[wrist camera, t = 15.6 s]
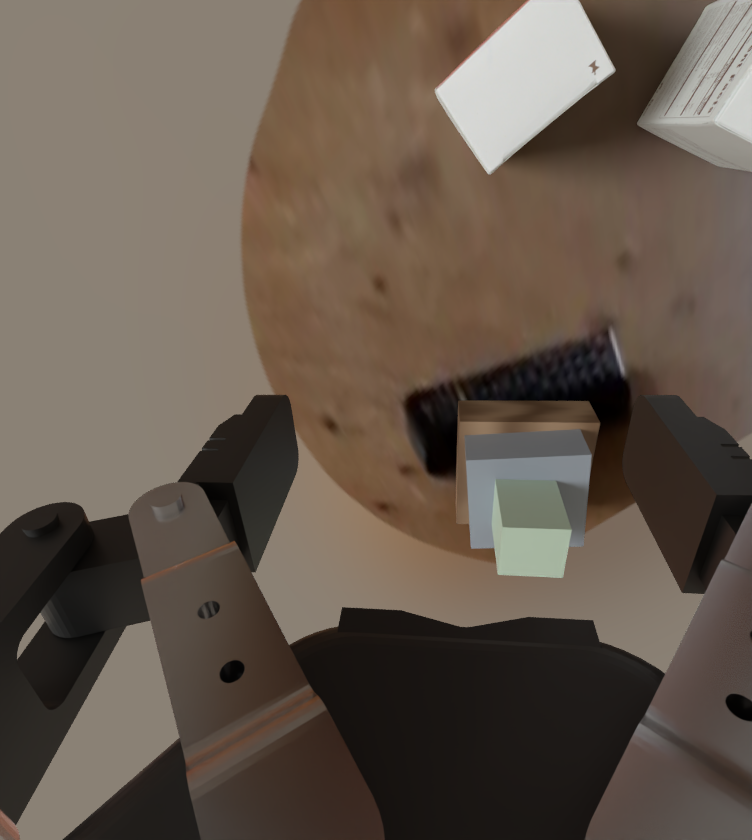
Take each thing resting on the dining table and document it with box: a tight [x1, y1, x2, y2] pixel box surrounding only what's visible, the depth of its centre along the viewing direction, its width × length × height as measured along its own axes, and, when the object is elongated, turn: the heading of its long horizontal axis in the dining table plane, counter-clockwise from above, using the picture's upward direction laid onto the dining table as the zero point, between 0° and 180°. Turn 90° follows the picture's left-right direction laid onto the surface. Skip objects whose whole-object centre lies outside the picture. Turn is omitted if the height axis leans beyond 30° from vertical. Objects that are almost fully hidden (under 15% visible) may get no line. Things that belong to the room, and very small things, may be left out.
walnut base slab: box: [456, 401, 600, 524], centre depth 50 cm, size 12×12×4 cm
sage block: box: [492, 479, 572, 578], centre depth 42 cm, size 5×5×6 cm
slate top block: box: [464, 429, 592, 548], centre depth 46 cm, size 10×10×4 cm
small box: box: [435, 0, 616, 174], centre depth 31 cm, size 8×6×10 cm
